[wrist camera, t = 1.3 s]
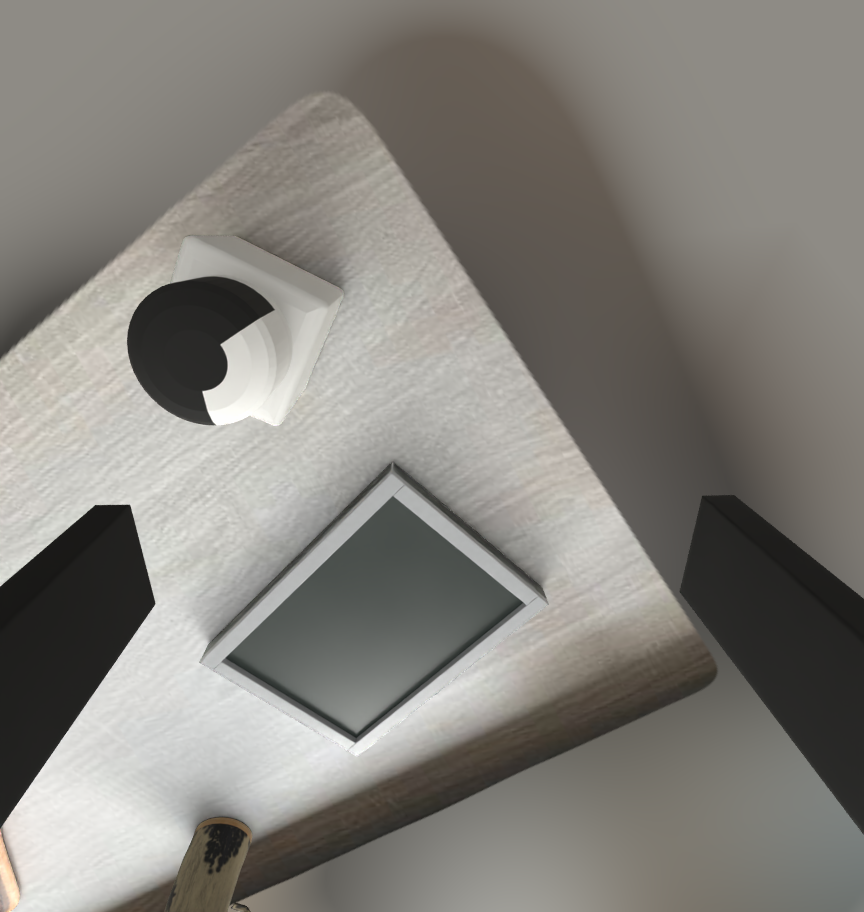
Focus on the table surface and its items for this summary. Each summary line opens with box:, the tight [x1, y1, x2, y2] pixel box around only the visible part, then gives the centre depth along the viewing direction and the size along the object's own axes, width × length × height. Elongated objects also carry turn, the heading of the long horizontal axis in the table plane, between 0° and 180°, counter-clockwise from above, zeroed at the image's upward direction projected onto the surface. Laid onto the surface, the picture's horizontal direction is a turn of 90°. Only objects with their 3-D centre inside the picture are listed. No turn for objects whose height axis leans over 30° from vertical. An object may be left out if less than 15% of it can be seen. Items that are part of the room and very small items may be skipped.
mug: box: [164, 817, 252, 912], centre depth 46 cm, size 8×6×12 cm
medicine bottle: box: [127, 235, 344, 426], centre depth 26 cm, size 7×7×12 cm
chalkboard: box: [200, 462, 548, 756], centre depth 40 cm, size 22×16×2 cm
